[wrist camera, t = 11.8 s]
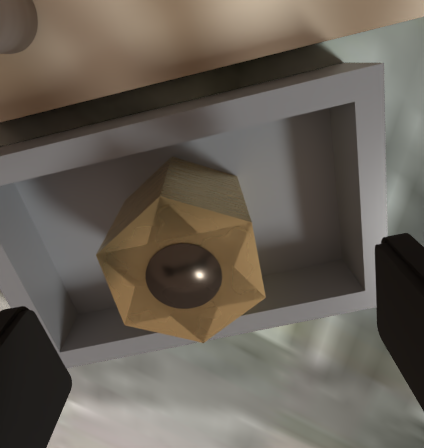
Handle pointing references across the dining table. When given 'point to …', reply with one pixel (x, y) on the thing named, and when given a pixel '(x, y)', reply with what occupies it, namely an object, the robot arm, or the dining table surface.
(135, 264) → the tan faceted piece
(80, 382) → the dining table surface
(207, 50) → the spacer board
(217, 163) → the tray
